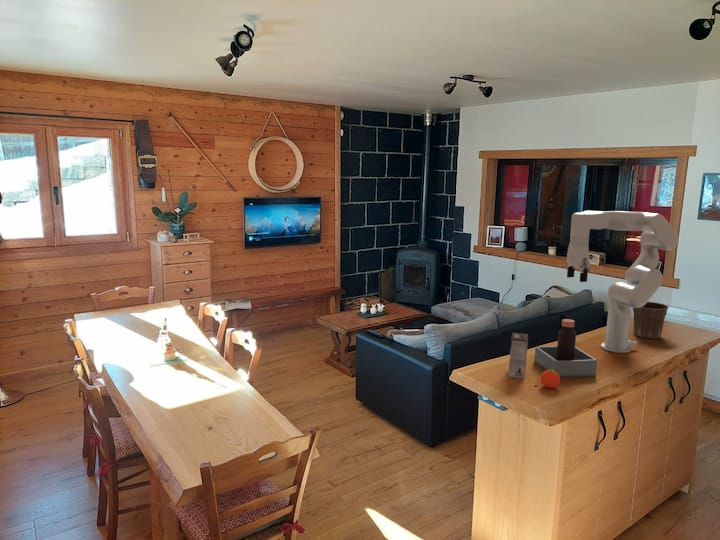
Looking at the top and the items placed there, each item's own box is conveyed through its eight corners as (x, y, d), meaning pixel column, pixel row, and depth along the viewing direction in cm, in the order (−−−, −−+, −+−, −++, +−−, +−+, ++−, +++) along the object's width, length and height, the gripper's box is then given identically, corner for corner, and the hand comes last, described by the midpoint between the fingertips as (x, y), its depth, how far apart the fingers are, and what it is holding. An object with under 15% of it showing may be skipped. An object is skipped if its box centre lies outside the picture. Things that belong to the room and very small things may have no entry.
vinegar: (560, 362, 219) (564, 317, 215) (576, 366, 214) (580, 320, 210) (552, 366, 214) (556, 320, 211) (568, 371, 210) (572, 323, 206)
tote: (572, 360, 224) (573, 345, 223) (595, 376, 207) (597, 360, 206) (534, 362, 222) (535, 346, 220) (554, 378, 205) (556, 361, 203)
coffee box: (509, 368, 214) (512, 331, 211) (525, 370, 212) (528, 333, 209) (508, 376, 205) (510, 338, 202) (524, 379, 203) (527, 340, 200)
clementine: (545, 381, 201) (546, 364, 200) (562, 386, 196) (564, 369, 195) (536, 387, 195) (538, 370, 194) (555, 393, 191) (556, 375, 189)
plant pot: (623, 334, 263) (626, 304, 260) (636, 328, 273) (639, 299, 270) (657, 342, 251) (661, 310, 248) (669, 336, 261) (673, 305, 258)
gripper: (560, 238, 231) (558, 276, 235) (583, 244, 215) (580, 284, 218) (575, 238, 232) (573, 275, 236) (599, 243, 216) (596, 283, 219)
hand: (576, 279), depth 227 cm, fingers open, 9 cm apart
